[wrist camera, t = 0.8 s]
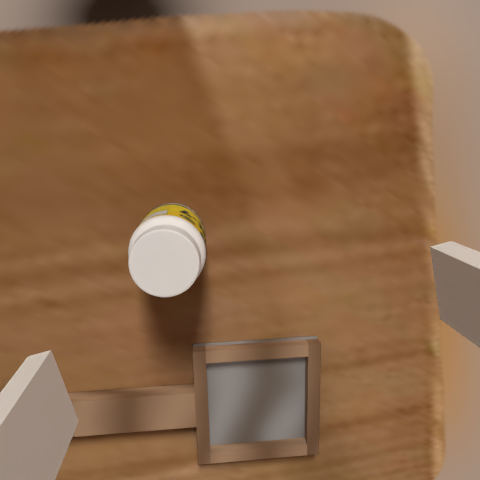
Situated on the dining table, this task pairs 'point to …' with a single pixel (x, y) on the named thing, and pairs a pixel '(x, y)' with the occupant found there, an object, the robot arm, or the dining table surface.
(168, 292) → the supplement bottle
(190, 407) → the wooden tray with handle
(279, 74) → the dining table surface
